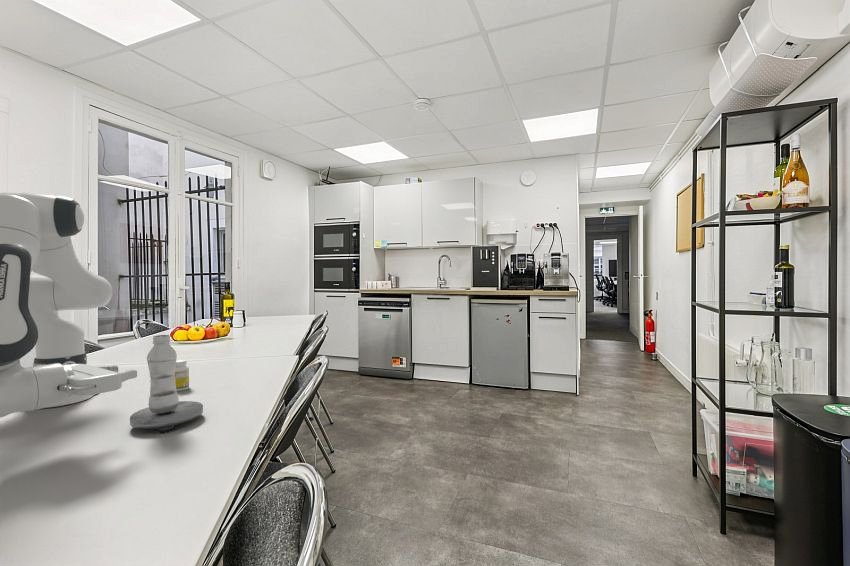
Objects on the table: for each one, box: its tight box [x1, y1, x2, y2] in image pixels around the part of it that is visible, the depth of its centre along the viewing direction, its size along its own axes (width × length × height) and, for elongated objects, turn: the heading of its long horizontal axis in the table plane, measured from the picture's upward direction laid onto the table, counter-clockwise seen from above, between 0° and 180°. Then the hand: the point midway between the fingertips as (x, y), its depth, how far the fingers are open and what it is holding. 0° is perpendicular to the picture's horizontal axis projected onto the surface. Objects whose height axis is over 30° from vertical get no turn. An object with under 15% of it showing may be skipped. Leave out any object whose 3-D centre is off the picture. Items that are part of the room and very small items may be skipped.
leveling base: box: [129, 400, 204, 434], centre depth 102 cm, size 16×16×3 cm
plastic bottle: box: [146, 334, 180, 414], centre depth 101 cm, size 6×7×20 cm
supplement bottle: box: [175, 359, 190, 392], centre depth 132 cm, size 5×5×10 cm
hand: (126, 371), depth 94 cm, fingers open, 8 cm apart
